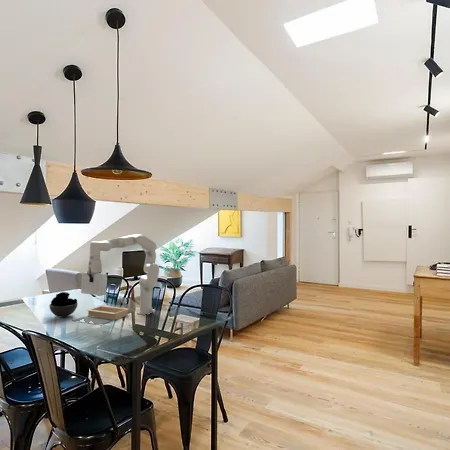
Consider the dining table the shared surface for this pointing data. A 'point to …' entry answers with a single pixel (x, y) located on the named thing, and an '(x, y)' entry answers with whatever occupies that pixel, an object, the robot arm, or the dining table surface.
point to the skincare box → (94, 284)
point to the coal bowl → (63, 305)
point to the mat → (93, 320)
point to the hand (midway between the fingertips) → (94, 281)
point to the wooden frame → (108, 312)
